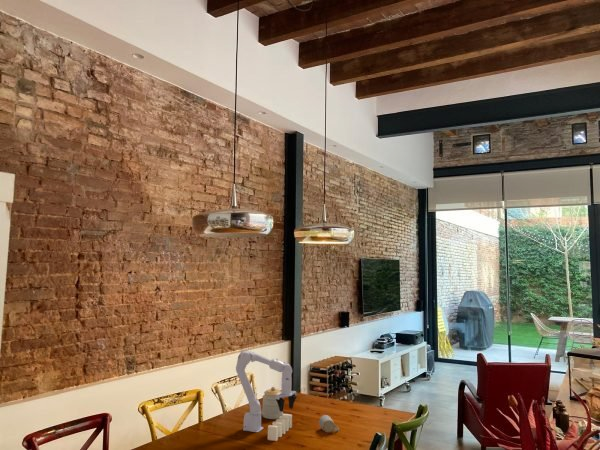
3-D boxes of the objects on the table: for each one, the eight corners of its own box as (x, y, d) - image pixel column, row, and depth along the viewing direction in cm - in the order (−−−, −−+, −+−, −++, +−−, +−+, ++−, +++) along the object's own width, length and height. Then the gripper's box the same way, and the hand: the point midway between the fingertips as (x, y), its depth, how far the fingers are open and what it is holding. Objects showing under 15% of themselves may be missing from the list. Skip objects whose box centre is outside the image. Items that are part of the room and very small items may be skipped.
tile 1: (282, 427, 264) (282, 414, 265) (283, 426, 266) (283, 413, 267) (290, 428, 263) (290, 415, 263) (291, 427, 265) (291, 414, 265)
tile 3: (275, 432, 255) (275, 419, 256) (277, 431, 257) (277, 418, 258) (284, 434, 253) (284, 420, 254) (285, 432, 255) (285, 419, 256)
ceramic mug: (322, 433, 255) (323, 419, 255) (318, 428, 262) (318, 415, 263) (340, 432, 257) (341, 418, 258) (335, 427, 265) (336, 414, 266)
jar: (280, 420, 276) (280, 390, 278) (259, 418, 279) (260, 388, 280) (285, 413, 289) (285, 385, 290) (265, 412, 291) (266, 383, 293)
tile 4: (272, 435, 250) (272, 422, 251) (273, 434, 252) (273, 421, 253) (280, 437, 249) (280, 423, 249) (282, 435, 250) (282, 422, 251)
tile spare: (267, 439, 245) (267, 426, 245) (269, 438, 246) (269, 424, 247) (276, 441, 243) (276, 427, 244) (277, 439, 245) (278, 426, 245)
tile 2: (279, 429, 260) (279, 417, 260) (280, 428, 262) (280, 416, 262) (287, 431, 258) (287, 418, 259) (288, 430, 260) (288, 417, 261)
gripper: (282, 389, 256) (281, 414, 255) (300, 384, 267) (299, 408, 266) (273, 386, 261) (273, 411, 260) (291, 382, 272) (291, 406, 270)
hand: (286, 409), depth 263 cm, fingers open, 7 cm apart
